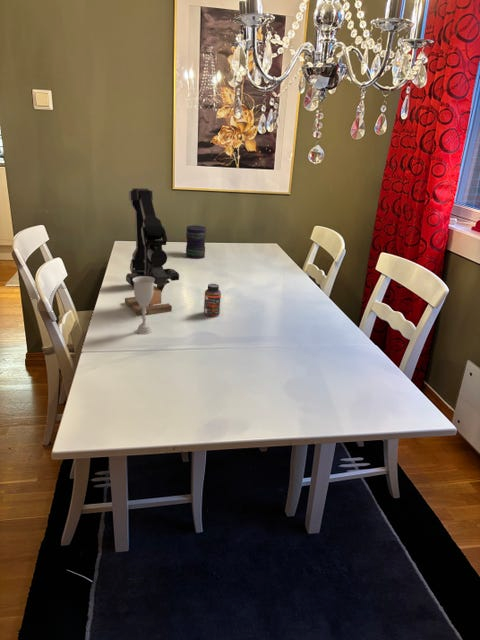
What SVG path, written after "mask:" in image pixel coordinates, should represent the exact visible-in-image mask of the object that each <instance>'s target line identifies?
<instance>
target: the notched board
mask: <svg viewBox="0 0 480 640" xmlns="http://www.w3.org/2000/svg"><path fill="white" fill-rule="evenodd" d="M124 304H125V305H126V306H128V308H129V309H130V310H131V311H132V312H133V313H134V314H135V315H136V316H137V317H142V316H143V314H142V310H143V308H142V307H140V305H139V304H138V302H137V300H136V297H135V296H131V297H130V296H128V297H124ZM172 311H173V306H172V305H171V304H170V303H163V304H162V303H161V304H154V305H148V306H147V307H146V312H147V313H146V316H147V315H148V316H149V315H155V314H161V313H169V312H172Z"/></svg>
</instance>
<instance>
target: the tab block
mask: <svg viewBox="0 0 480 640" xmlns="http://www.w3.org/2000/svg"><path fill="white" fill-rule="evenodd" d="M160 304H162V293H161V290H160V289H158V288H157V285H153V296H152V299H151V301H150V303H149V305H150V306H153V305H160Z"/></svg>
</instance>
